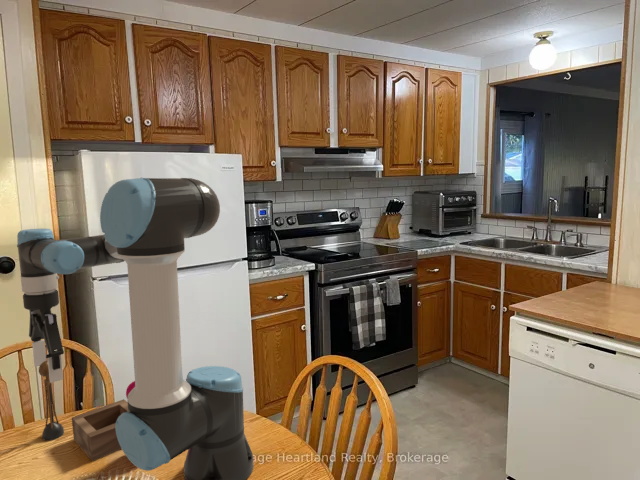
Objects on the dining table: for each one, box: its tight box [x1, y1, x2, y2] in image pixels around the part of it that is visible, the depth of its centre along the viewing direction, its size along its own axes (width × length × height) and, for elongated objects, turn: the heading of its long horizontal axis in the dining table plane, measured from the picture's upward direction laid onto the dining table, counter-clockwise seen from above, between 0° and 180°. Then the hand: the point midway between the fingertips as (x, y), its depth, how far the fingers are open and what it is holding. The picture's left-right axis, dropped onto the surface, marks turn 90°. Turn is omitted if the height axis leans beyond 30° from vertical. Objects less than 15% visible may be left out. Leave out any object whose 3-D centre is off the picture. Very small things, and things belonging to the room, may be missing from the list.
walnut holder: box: [71, 399, 128, 462], centre depth 114 cm, size 13×13×6 cm
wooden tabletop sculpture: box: [38, 360, 65, 442], centre depth 116 cm, size 6×5×20 cm
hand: (48, 372), depth 116 cm, fingers open, 13 cm apart
